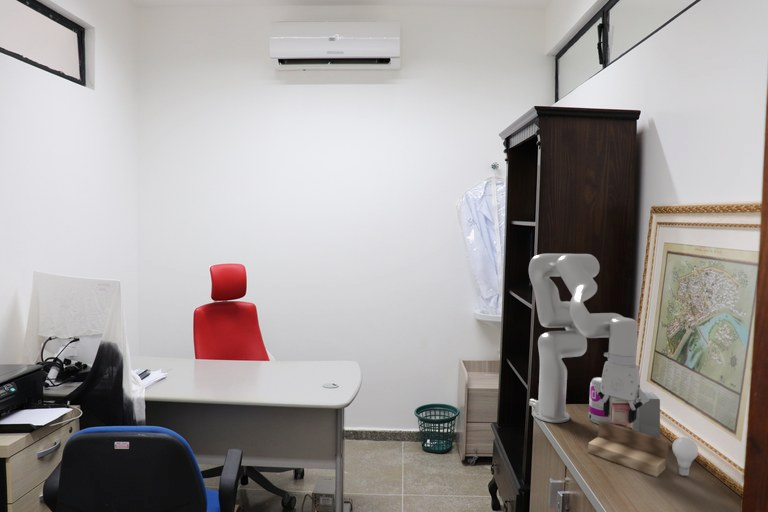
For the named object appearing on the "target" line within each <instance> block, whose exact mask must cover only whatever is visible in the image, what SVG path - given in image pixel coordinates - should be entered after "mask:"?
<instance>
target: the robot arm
mask: <svg viewBox="0 0 768 512" xmlns="http://www.w3.org/2000/svg"><path fill="white" fill-rule="evenodd" d="M600 266H601V265H600V263H599V261H598V259H597V258H596V257H595V256H594V255H593V254H589V253H541V254H537V255H535V256H533V257H532V258H531V259H530V262H529V265H528V275H529V279H530V282H531V286H532V288H533V291H534V296H535V297H534V298H535V303H536V311H537V317H538V321H539V323H540V325H541V326H542V327H544V328H549V329H550V328H551V329H552V328H564V329H565V330H551V331H546V332H544V333H542V334H540V336H539V337H538V340H537V347H538V356H539V378H538V379H539V380H538V381H539V383H538V398H537V399H538V400H537V399H535V398H530V399H529V403H528V404H529V406H531V407H534V409H533V410H532V411H533V412H532V414H533V416H534V417H536V418H537V419H538V420H541V421H543V422H547V423H555V424H557V423H558V424H562V423H566V422H569V420H570V414H569V413H568V412H567V411H566V403H567V401H566V399H567V383H568V382H567V380H568V369H567V366H566V365H565V363H564V361H563V360H562V359H563V358H564V359H565V358H574V357H575V358H577V357H582V356H583V355H584V354H585V353H586V352H587V349H588V340H587V339H599V338H608V341H609V342H608V351H607V352H603V356H604V357H605V358H607V360H606V361H604V365H603V369H602V374H601V378H602V380H601V382H600V383H599V384H597V385H596V386H594V389H595V390H596V392H597V393H598V395H599V396H600V398H601V399H602V402H604V405H603V412H604V416H608V415H609V399H610V397H615V398H618V399H622V400H626V401H628V402H629V404H630V407H631V409H629V418H628V422H629V423H630V424H633V422H634V421H635V420H636V416H637V408H639V407H640V406H642V405H643V404H645V403H646V402H648V401H649V398H648V397H647V396H646V395H645V394H644V392H645V391H643V390H642V389H641V375H640V369H639V366H638V365H637V353H638V352H637V350H638V349H637V348H638V330H639V325H638V324H639V323H638V322H637V320H635V319H634V318H631V317H625V316H623V315H621V314H619V313H616V312H600V313H599V312H598V313H597V312H596V313H594V312H593V313H590V312H589V310H588V309H587V307H586V306H585V303H584V302H585V301H587V300H589V299H591V298H592V297H593V296H594V295H595V294H596V293H597V291H598V284H597V282H596V280H594V278H595V277H596V276H597V275H598V274H599V272H600V270H601V269H600ZM550 277H556V278H557V277H561V279H562V280H563V282H564V284H565V286H566V287H567V289H568V290H569V291H568V292H570V294H571V296H572V297H571V299H570V301H568V300H567V301H566V300H565V301H562V300H561V298H560V292H559V289H558V287H557V285H556V284H555V283H554V281H553V280H552V279H551V278H550ZM639 397H640V398H641V401H639V402H638V403H637V400H636V398H639Z"/></svg>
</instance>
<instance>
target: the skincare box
mask: <svg viewBox="0 0 768 512" xmlns="http://www.w3.org/2000/svg"><path fill="white" fill-rule="evenodd" d="M643 392H644V394H645V395H646V396H647V397H648V398H649V401H648V402H646V403H645V404H643V405H642V406H640V407H639V408H637V416H636V420H635V421H634V422H632V430H634V431H638V432H641V433H644V434H648V435H651V436H654V437H657V438H661V399H660V398H659V397H658V396H657V395H656V394H655V393H654V392H653V391H643ZM636 400H637V403H638V402H639V401H641V398H640V397H639V398H636Z"/></svg>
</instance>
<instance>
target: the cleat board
mask: <svg viewBox="0 0 768 512" xmlns="http://www.w3.org/2000/svg"><path fill="white" fill-rule="evenodd" d="M597 434H598V435H597V437H595V438H594V439H592V440H591V441H589V442H588V445H587V453H588V454H592V455H594V456H597V457H599V458H603V459H605V460H608V461H612V462H614V463H616V462H617V464H620V465H622V466H625V467H628V468H631V469H632V470H633V469H634V470H637V471H639V472H642V473H645V474H647V475H651V476H653V477H656V478H658V477H659V476H660V474H662V473H663V472H665V470H666V469H667V468H668V459H669V456H668V455H669V443H670V442H669V440H668V439H667V440H666V439H665V438H664V439H663V438H661V437H660V438H657V437H654V436H651V435H648V434H644V433H641V432H638V431H634V430H633V429H631V428H628V427H624V426H621V425H619V424H613V423H608V422H605V421H602V420H601V421H599V424H598V433H597Z"/></svg>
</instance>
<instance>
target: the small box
mask: <svg viewBox="0 0 768 512" xmlns="http://www.w3.org/2000/svg"><path fill="white" fill-rule="evenodd" d="M629 409H631V407H630V404H629V402H628V401H626V400H622V399H618V398H615V397H610V399H609V420H610V421H611V422H612V423H611V424H615V425H628V426H629V425H631V423H629V422H628V418H629Z"/></svg>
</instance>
